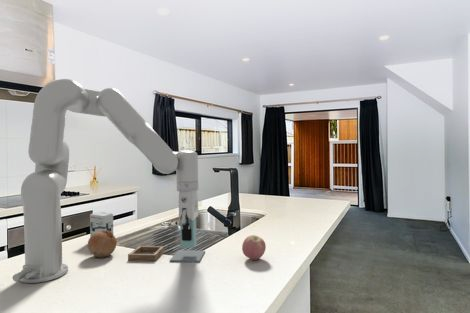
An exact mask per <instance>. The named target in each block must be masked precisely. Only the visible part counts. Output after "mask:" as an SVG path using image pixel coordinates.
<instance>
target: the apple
mask: <svg viewBox="0 0 470 313" xmlns="http://www.w3.org/2000/svg"><path fill="white" fill-rule="evenodd" d="M241 245H242V248H241V250H242V253H243V255H244V256H245V257H246V258H249V259H250V260H253V261H258V260H259V259H261V258H262V257H263V255H264V254H265V252H266V250H267V248H266V247H267V246H266V242H265V241H264V239H263V238H261V237H260V236H259V235H253V234H252V235H248V236H246V238H245V239H244V240H243V242H242V244H241Z"/></svg>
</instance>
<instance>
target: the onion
mask: <svg viewBox="0 0 470 313" xmlns="http://www.w3.org/2000/svg"><path fill="white" fill-rule="evenodd" d="M116 247H117V238H116V236H115V235H114V233H113V234H112V233H111V231H108V230H107V231H101V232H97V233H94V234H93V235H92V236H91V237H89V238H88V241H87V249H88V251H89V252H90V254H91V255H93V257H95V258H99V259H103V258H106V257H109V256H110V255H112V254H114V251H115V250H116Z"/></svg>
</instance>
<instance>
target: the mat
mask: <svg viewBox="0 0 470 313" xmlns="http://www.w3.org/2000/svg"><path fill="white" fill-rule="evenodd" d="M205 253H206V250H188V249H177V251H176V252H175V253H174V255H173V256H172V257H171V258H170V259H169V261H170V263H200V262H201V260H202V258H203V257H204V255H205Z"/></svg>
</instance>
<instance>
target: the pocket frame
mask: <svg viewBox="0 0 470 313" xmlns="http://www.w3.org/2000/svg"><path fill="white" fill-rule="evenodd" d="M140 252H141V253H140ZM163 253H165V246H164V245H162V246H161V245H160V246H158V245H154V246H153V245H138V246H137V247H136V248H134V249H133V250H132V251H131V252H130V253H128V254H127V261H129V262H130V261H132V262H133V261H135V262H136V261H137V262H138V261H139V262H156V261H157V260H158V259H159V258H160V257H161V256H162V255H163Z"/></svg>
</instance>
